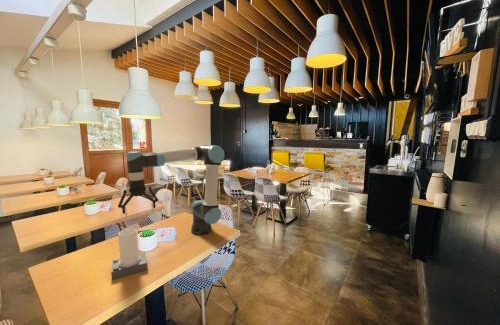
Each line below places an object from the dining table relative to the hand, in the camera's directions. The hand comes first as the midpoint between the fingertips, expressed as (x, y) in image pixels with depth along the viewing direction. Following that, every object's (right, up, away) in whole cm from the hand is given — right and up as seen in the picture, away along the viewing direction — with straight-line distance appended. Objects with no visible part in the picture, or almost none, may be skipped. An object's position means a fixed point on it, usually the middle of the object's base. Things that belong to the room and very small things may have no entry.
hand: (140, 216), depth 123 cm
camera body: (-2, -27, -7) cm, 27 cm away
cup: (-2, -22, -7) cm, 23 cm away
